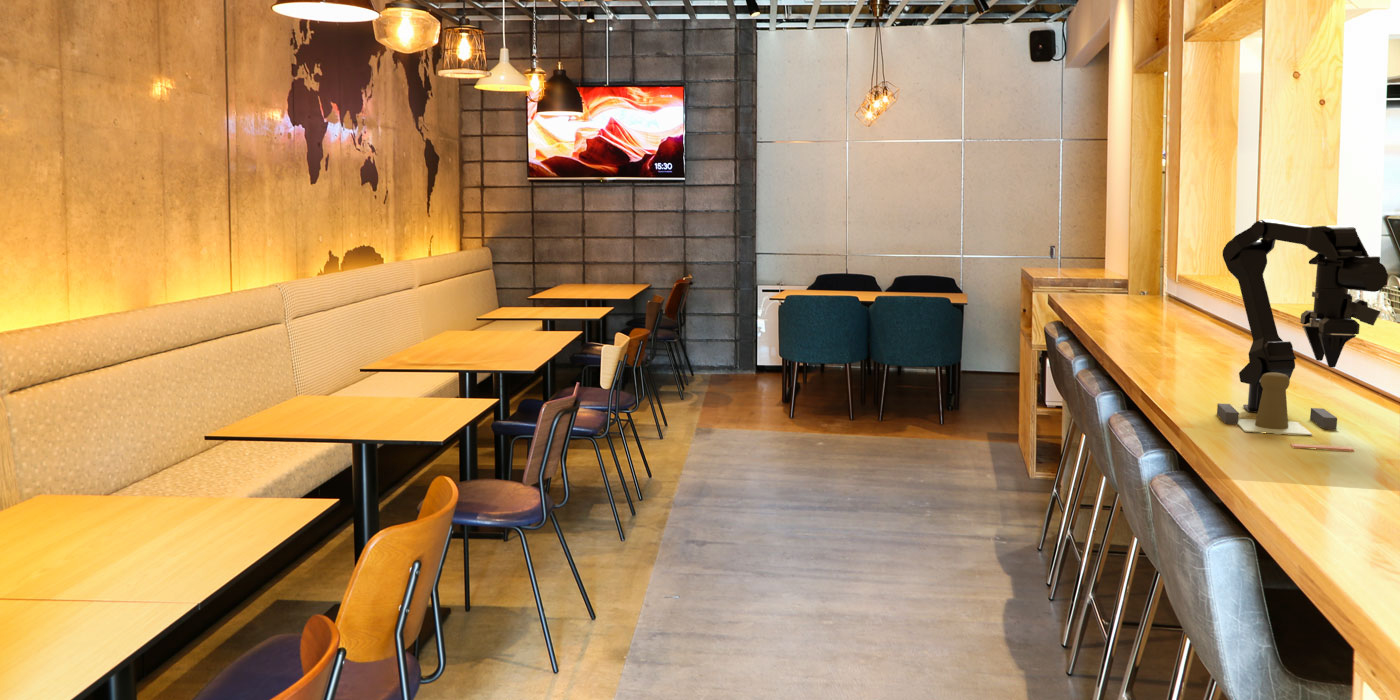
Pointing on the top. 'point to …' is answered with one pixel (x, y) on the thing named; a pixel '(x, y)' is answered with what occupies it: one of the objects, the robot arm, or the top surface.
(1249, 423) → the pad
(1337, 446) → the off strip
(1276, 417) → the cork
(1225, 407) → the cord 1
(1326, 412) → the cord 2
